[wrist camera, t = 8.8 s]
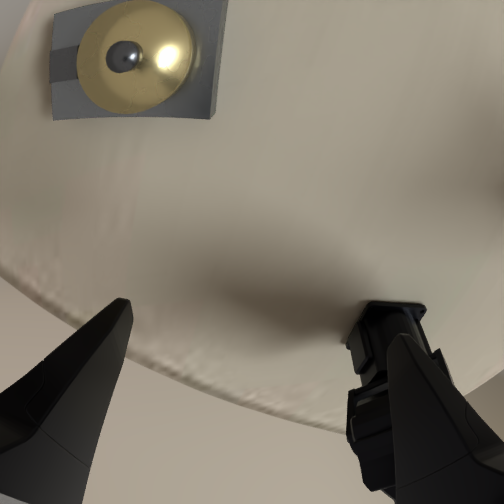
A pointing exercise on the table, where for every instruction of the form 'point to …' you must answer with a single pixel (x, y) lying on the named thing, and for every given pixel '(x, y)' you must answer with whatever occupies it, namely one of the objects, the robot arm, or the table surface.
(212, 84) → the call bell
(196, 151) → the table surface
